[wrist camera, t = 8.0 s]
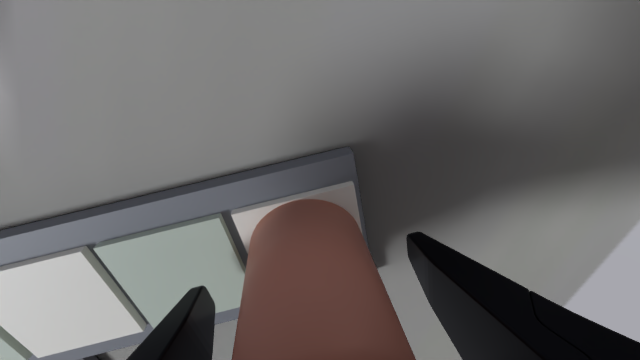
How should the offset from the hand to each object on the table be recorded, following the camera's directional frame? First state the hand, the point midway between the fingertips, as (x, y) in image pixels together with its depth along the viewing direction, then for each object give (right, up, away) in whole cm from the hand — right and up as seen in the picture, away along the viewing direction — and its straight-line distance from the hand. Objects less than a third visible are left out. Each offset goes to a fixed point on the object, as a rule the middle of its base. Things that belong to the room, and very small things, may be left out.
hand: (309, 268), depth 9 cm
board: (-9, -1, +2) cm, 9 cm away
